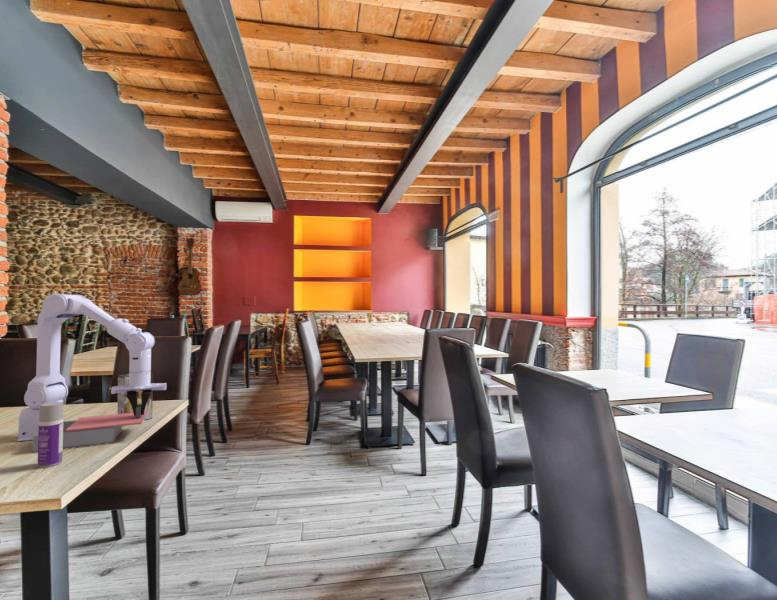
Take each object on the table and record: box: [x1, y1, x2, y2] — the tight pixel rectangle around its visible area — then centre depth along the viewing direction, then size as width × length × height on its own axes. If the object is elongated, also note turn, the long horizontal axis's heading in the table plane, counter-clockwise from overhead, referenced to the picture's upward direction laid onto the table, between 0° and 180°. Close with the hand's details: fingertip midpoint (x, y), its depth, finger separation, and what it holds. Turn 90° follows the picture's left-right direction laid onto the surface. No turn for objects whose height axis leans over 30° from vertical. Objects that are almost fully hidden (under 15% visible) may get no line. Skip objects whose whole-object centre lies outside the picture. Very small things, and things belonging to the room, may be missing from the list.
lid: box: [66, 404, 147, 432], centre depth 119 cm, size 18×14×4 cm
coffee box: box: [116, 373, 154, 421], centre depth 137 cm, size 9×6×16 cm
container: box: [37, 401, 64, 468], centre depth 98 cm, size 5×5×15 cm
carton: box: [32, 419, 123, 453], centre depth 115 cm, size 18×14×4 cm
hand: (139, 414), depth 122 cm, fingers closed on lid
